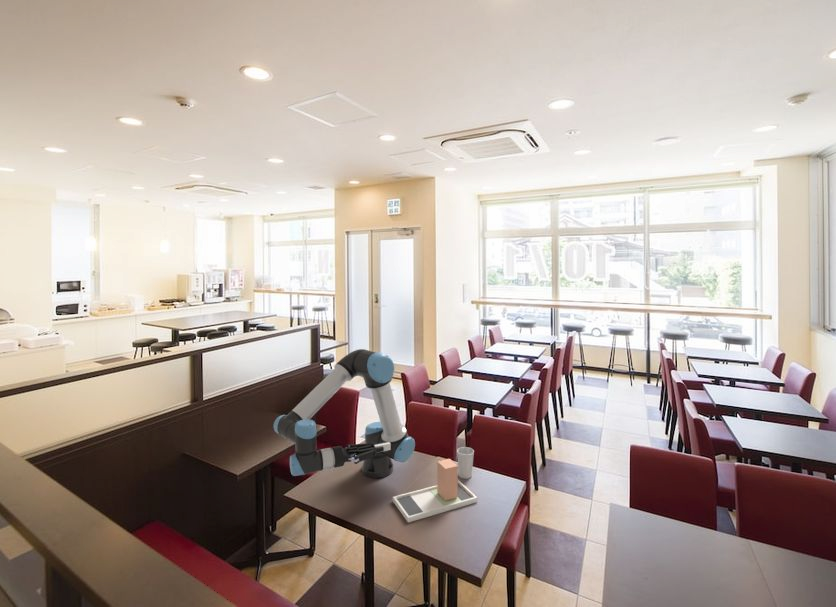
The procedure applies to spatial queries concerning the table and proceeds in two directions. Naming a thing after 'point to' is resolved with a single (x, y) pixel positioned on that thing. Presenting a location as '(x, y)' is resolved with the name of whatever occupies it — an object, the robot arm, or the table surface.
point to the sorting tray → (431, 502)
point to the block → (447, 479)
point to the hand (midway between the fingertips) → (389, 445)
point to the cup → (465, 462)
